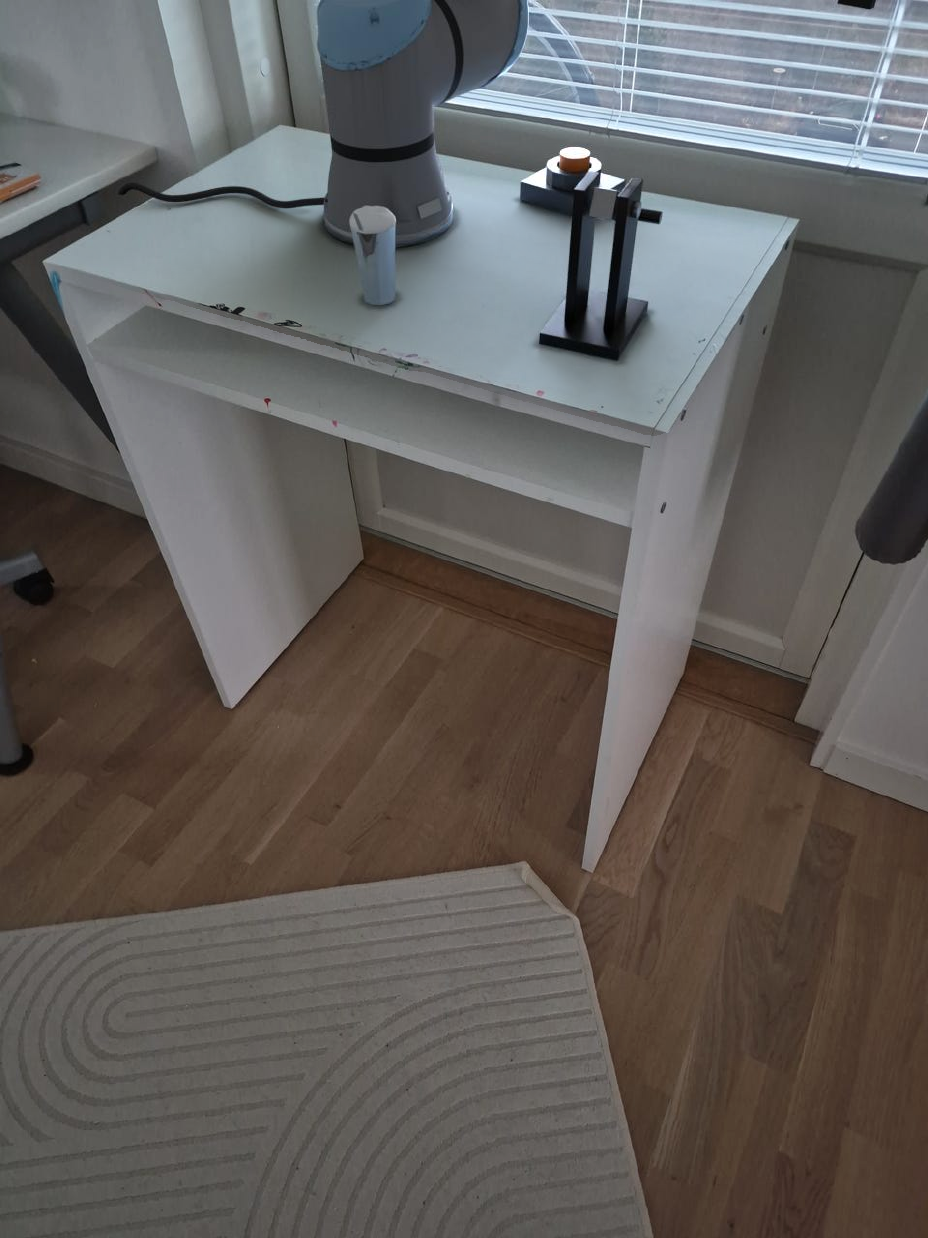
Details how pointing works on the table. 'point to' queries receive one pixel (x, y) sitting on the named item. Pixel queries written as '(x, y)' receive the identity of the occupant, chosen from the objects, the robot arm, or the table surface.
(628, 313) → the stand
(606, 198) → the switch lever
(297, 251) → the table surface
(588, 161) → the button
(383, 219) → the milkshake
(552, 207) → the control block
